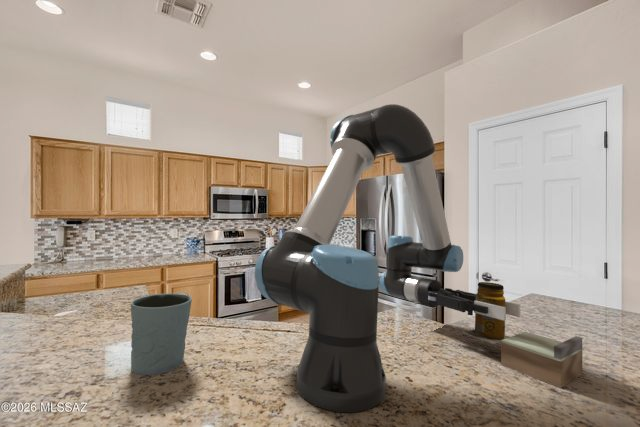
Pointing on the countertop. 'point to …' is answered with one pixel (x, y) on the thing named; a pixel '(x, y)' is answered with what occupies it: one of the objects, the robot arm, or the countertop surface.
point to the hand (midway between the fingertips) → (512, 312)
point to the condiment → (487, 325)
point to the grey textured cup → (159, 332)
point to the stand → (543, 357)
